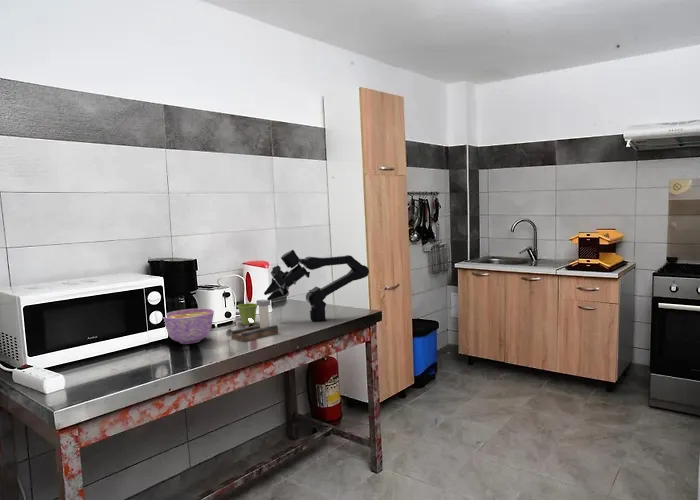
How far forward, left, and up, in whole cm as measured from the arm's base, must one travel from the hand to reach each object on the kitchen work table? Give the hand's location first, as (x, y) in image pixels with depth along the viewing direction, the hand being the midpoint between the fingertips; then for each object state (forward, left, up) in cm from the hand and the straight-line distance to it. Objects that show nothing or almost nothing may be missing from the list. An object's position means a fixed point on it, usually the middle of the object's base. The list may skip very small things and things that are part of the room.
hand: (266, 297), depth 226 cm
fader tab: (+2, +14, -11) cm, 18 cm away
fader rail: (+6, +17, -13) cm, 22 cm away
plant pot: (+9, -9, -13) cm, 18 cm away
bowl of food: (+32, +17, -13) cm, 38 cm away
